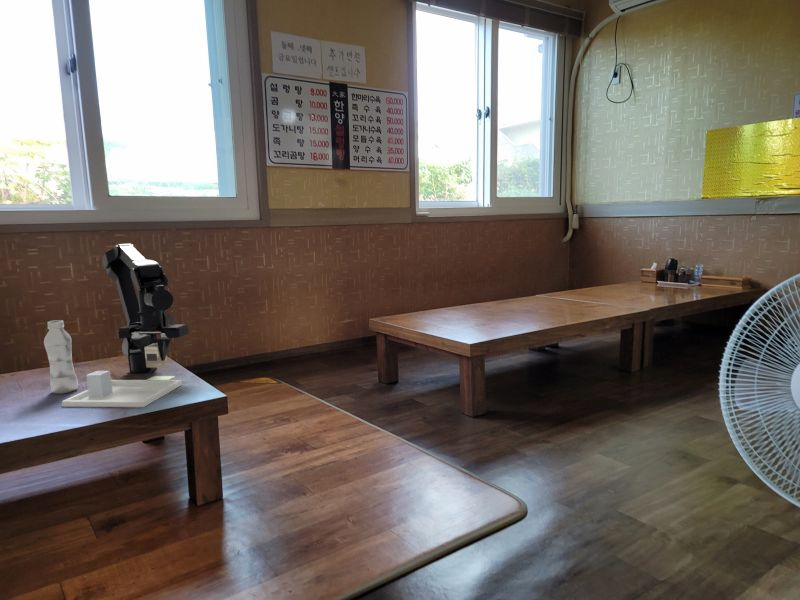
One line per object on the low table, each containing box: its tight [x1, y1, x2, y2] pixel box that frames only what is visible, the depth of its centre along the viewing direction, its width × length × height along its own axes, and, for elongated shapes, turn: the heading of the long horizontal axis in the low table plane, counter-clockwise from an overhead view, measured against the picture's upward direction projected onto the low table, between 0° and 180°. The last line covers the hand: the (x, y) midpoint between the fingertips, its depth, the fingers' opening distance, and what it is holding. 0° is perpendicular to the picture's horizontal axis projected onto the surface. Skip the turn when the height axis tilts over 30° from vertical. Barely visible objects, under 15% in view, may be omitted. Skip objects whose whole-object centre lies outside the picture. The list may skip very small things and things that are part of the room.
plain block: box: [85, 370, 113, 397], centre depth 146 cm, size 4×4×6 cm
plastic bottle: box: [43, 319, 79, 395], centre depth 150 cm, size 6×7×20 cm
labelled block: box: [144, 343, 168, 369], centre depth 158 cm, size 4×4×6 cm
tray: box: [61, 379, 183, 408], centre depth 145 cm, size 22×18×2 cm
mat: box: [146, 375, 176, 380], centre depth 159 cm, size 7×6×1 cm
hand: (156, 360), depth 158 cm, fingers closed on labelled block, 4 cm apart
